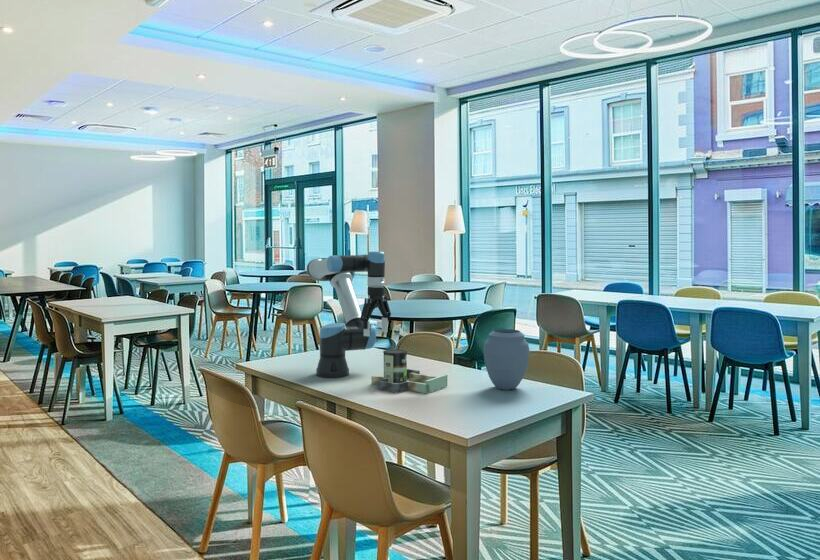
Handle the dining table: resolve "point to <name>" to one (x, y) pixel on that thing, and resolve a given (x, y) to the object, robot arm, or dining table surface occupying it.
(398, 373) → the coffee can
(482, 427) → the dining table surface
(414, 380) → the channel
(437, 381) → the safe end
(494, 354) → the vase
